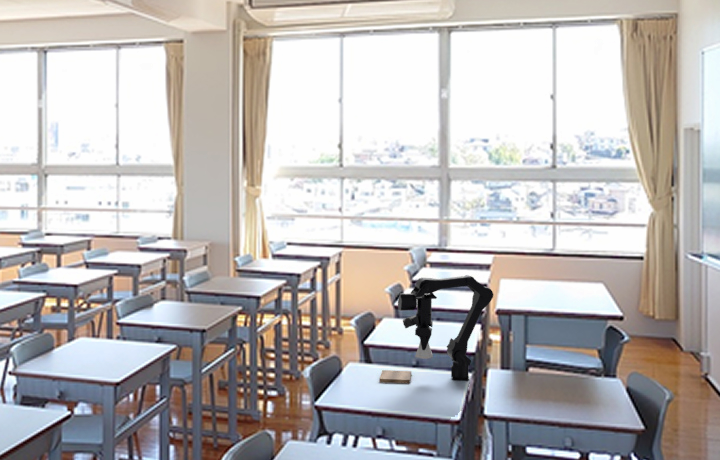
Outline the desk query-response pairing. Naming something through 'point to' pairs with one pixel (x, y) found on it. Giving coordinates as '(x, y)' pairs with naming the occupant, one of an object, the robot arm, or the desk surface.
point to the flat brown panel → (395, 376)
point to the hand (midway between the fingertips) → (424, 348)
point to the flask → (424, 352)
